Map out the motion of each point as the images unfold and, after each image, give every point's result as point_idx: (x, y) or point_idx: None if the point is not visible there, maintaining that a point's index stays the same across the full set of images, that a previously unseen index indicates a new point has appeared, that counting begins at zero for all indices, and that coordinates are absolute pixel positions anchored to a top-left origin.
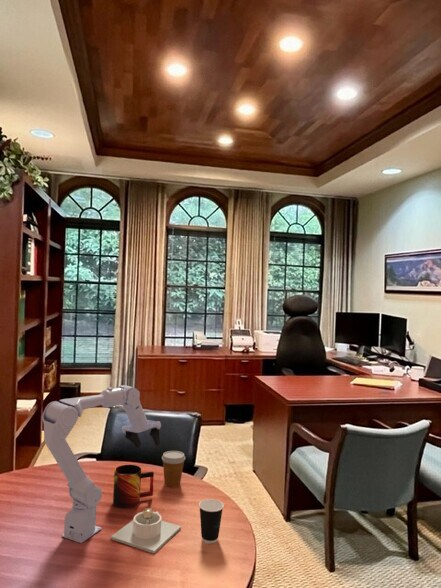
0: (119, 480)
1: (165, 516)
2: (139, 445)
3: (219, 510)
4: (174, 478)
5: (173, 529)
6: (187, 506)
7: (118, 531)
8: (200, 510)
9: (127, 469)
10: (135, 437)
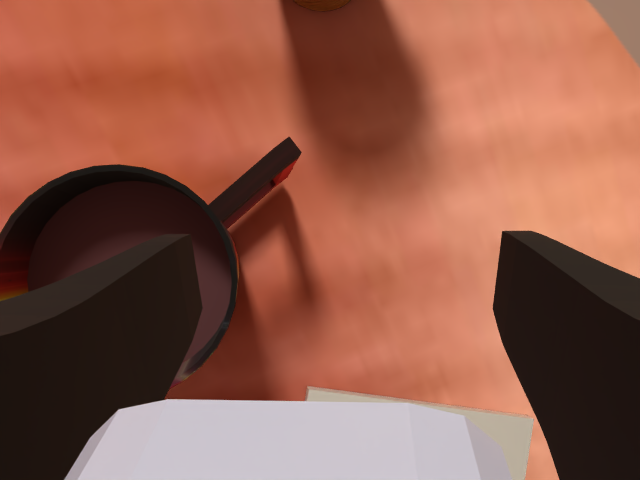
0: None
1: (421, 336)
2: (194, 288)
3: None
4: None
5: (511, 458)
6: (485, 199)
7: None
8: None
9: (75, 187)
10: (113, 402)
